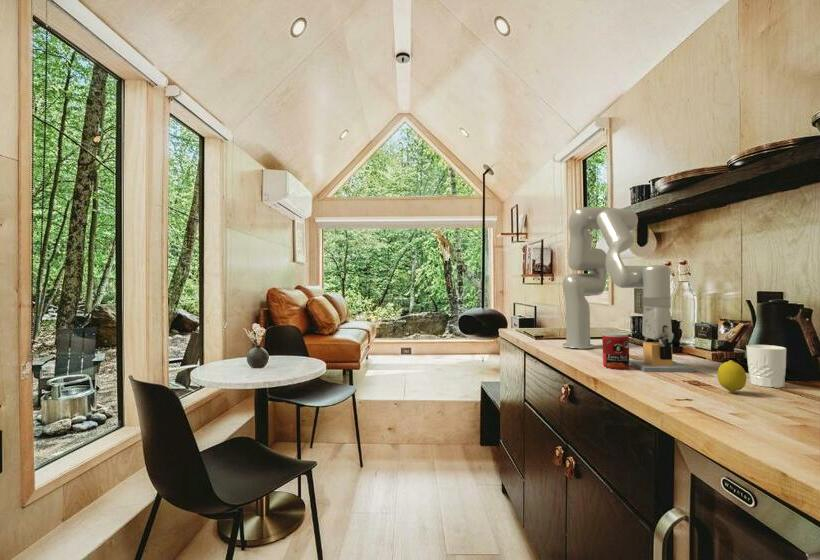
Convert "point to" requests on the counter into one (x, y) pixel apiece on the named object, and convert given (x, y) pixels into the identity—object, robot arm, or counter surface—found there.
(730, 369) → the lemon
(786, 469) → the counter surface
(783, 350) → the white cup
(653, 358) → the tan block
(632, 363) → the stub board
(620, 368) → the canned food
